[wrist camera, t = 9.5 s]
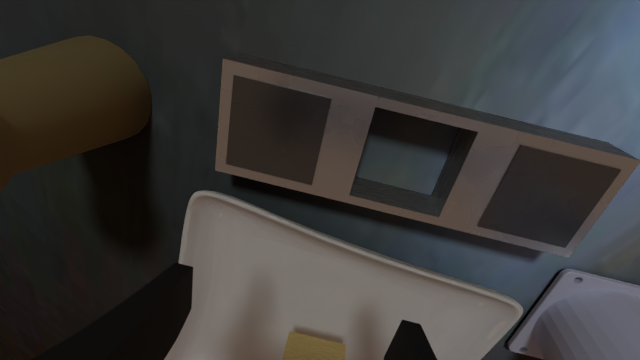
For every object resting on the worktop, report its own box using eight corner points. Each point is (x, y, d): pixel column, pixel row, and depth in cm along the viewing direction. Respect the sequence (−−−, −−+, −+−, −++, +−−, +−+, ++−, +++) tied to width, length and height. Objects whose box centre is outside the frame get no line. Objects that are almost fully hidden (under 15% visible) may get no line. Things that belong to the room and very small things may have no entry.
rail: (608, 142, 18) (642, 161, 15) (547, 232, 20) (570, 259, 18) (239, 52, 18) (222, 58, 16) (230, 153, 21) (214, 170, 18)
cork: (141, 39, 18) (-117, 75, 8) (159, 143, 21) (-20, 260, 11) (38, 31, 19) (-320, 55, 9) (69, 134, 21) (-177, 238, 12)
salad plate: (175, 354, 32) (155, 391, 29) (211, 163, 22) (185, 188, 19) (385, 422, 32) (387, 464, 29) (511, 267, 23) (533, 307, 20)
